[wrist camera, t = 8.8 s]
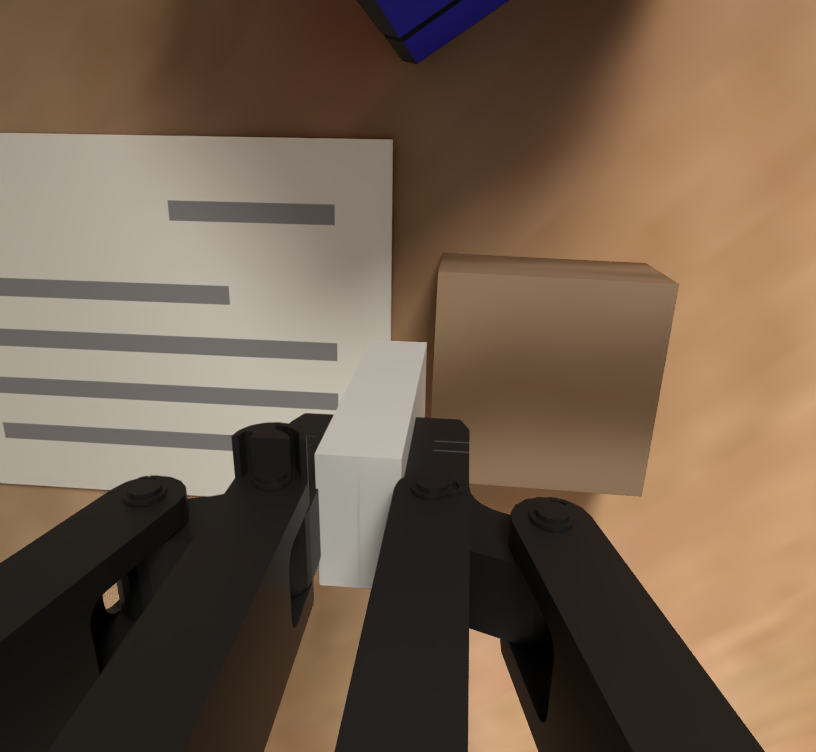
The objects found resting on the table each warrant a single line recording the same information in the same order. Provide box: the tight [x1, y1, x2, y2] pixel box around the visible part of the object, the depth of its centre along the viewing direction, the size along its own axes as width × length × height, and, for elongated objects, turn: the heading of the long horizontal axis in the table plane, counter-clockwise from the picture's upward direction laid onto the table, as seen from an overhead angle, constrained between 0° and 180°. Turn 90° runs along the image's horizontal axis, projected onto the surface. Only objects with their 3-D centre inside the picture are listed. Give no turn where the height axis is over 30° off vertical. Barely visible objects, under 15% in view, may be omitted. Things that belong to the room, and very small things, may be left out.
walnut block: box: [431, 253, 679, 497], centre depth 22 cm, size 7×7×4 cm
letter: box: [0, 133, 393, 496], centre depth 25 cm, size 14×18×1 cm
